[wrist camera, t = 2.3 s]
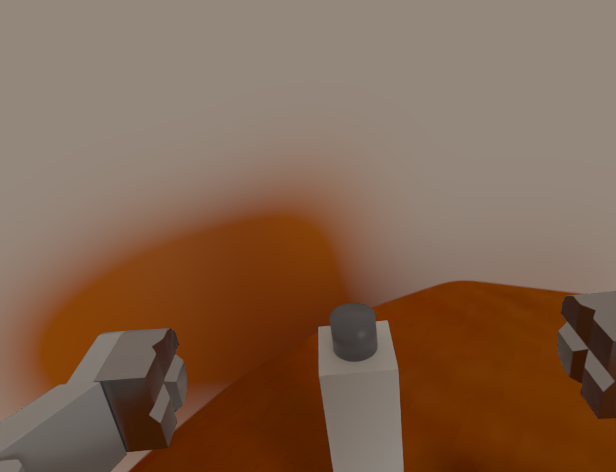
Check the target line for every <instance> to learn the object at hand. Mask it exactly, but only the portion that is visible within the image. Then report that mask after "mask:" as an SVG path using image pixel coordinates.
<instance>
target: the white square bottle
mask: <svg viewBox="0 0 616 472" xmlns="http://www.w3.org/2000/svg"><path fill="white" fill-rule="evenodd" d="M329 319H330V326H323V327H319V328H318V337H319V380H320V386H321V393H322V400H323V406H324V413H325V419H326V426H327V433H328V439H329V446H330V453H331V459H332V466H333V472H404V467H403V449H402V430H401V412H400V393H399V374H398V366H397V361H396V357H395V352H394V348H393V343H392V338H391V334H390V329H389V325H388V320H387V321H377V322H376V317H375V312H374V310H373V309H372V308H370V307H369V306H367V305H364V304H360V303H349V304H344V305H341V306H339V307H337V308H336V309H334V310H333V311H332V313H331V314H330V318H329Z"/></svg>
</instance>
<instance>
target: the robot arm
mask: <svg viewBox="0 0 616 472" xmlns="http://www.w3.org/2000/svg"><path fill="white" fill-rule="evenodd" d="M561 314H562V315H563V317H564V318H565V319H566V320H567V323H566V324H565V325H564V326H563V327H562V328H561V329H560V330H559V331H558V341H557V347H558V353H559V358H560V361H561V363H562V366H563V368H564V369H565V371H566V372H567V374H568V376H569V377H571V378H572V379H574V380H576V381H578V382H580V383H581V384H582V386H581V395H582V396H583V398H584V399H585V400H586V402H587V403H588V405H589V406H590V408H591V409H592V411H593V412H594V413H595V415H596V416H597V418H598V419H606V418H616V291H612V292H603V293H592V294H581V295H571V296H566V297H565V299H564V301H563V303H562V309H561ZM178 345H179V343H178V340H177V337H176V333H175V331H173V330H172V329H171V328H168V329H152V330H134V331H126V332H125V331H119V332H108V333H103V334H101V335H99V336H98V337H97V339H96V340H95V341H94V343H93V345H92V346H91V347H90V349H89V350H88V352H87V354H86V355H85V357H84V358H83V360H82V361H81V363H80V364H79V366H78V367H77V369H76V370H75V372H74V373H73V375H72V376H71V378H70V379H69V381H68V382H67V384H63V385H58V386H57V387H55V388H53V389H52V390H50V391H49V392H47V393H46V394H44V395H42V396H41V397H39V398H38V399H36V400H35V401H33V402H31V403H30V404H28V405H27V406H25V407H24V408H22V409H21V410H19V411H17V412H16V413H14V414H13V415H11V416H10V417H8V418H7V419H5V420H4V421H2V422H0V472H111V471H112V469H113V468H114V467H115V466H116V465H117V464H118V463H119V462H120V461H121V460H122V459H123V458H124V457H125V456H126V455H127V453H126V452H133V451H143V450H154V449H164V448H169V445H170V442H171V439H172V436H173V433H174V430H175V427H176V424H177V420H176V416H175V412H176V411H177V410H178V409H179V408H180V407H181V406H182V405H183V403H184V399H185V396H186V389H187V375H186V368H185V364H184V361H183V360H182V359H181V358H179V357H178V356H177V355H176V354H175V353H176V350H177V348H178Z"/></svg>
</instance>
